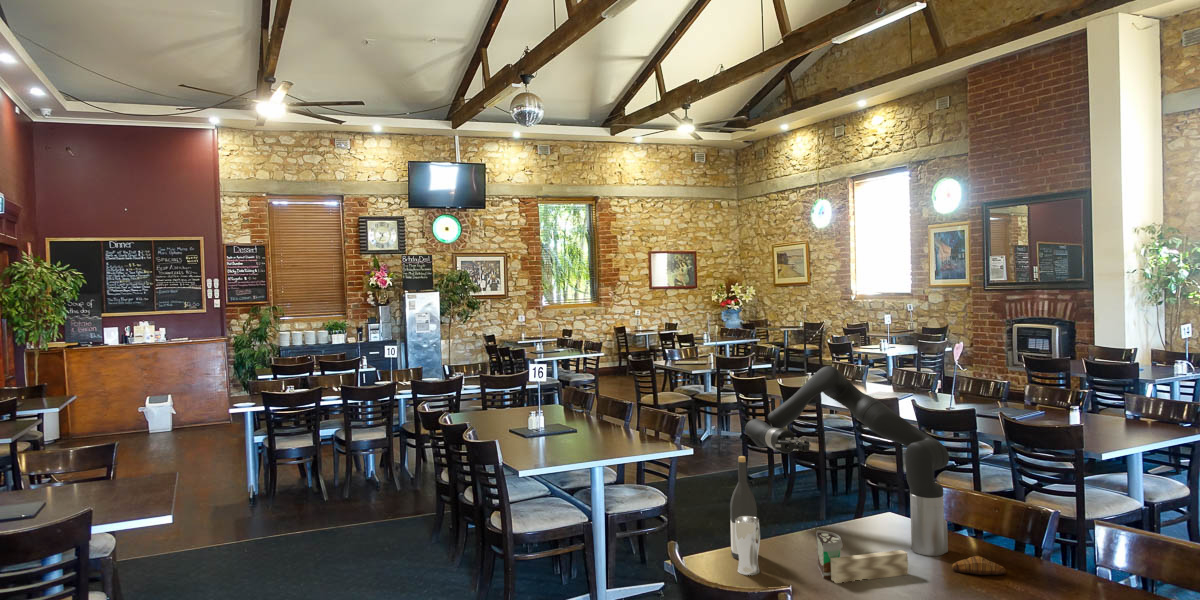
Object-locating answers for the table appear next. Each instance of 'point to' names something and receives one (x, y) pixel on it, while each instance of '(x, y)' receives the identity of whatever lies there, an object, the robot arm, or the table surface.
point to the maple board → (869, 566)
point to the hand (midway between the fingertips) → (806, 448)
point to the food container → (827, 550)
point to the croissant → (978, 566)
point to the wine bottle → (741, 502)
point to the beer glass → (747, 544)
